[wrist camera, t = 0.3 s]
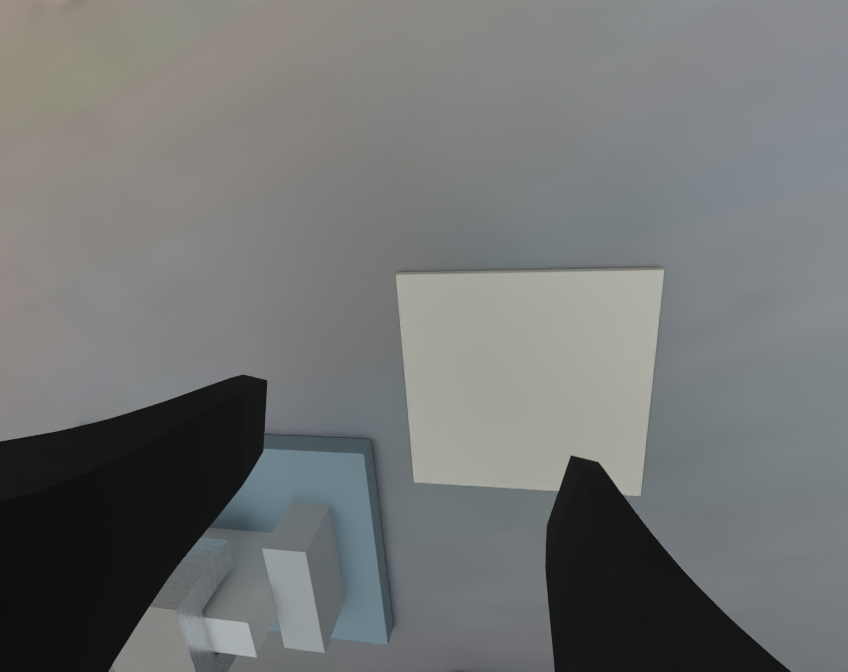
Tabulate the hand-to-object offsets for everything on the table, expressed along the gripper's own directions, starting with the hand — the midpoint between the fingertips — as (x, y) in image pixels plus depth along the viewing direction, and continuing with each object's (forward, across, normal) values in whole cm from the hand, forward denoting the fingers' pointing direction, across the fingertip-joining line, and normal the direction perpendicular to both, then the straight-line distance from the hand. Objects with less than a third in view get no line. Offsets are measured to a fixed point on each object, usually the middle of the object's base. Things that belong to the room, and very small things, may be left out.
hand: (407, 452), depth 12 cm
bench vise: (+10, +9, +15) cm, 20 cm away
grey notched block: (+6, +9, +15) cm, 19 cm away
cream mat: (+10, -3, +2) cm, 11 cm away
